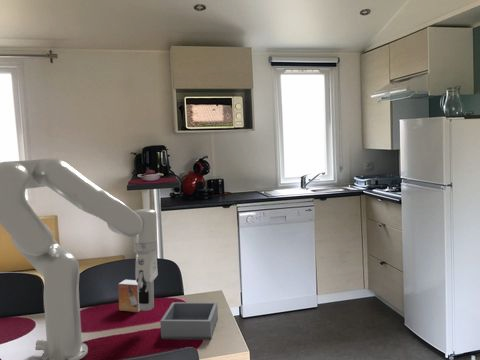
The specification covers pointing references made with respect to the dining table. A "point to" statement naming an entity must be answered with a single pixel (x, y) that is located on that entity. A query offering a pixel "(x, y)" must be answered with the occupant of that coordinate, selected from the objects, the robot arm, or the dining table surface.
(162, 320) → the box
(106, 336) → the dining table surface
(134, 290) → the small box
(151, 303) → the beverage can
